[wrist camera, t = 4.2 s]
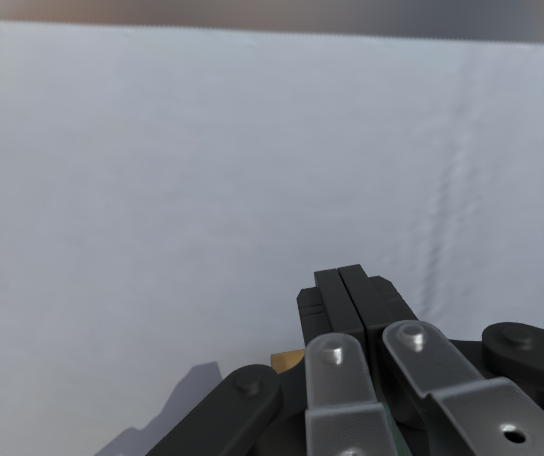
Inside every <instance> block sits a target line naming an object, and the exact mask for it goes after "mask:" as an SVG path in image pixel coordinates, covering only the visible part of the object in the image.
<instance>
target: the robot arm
mask: <svg viewBox="0 0 544 456" xmlns="http://www.w3.org/2000/svg"><path fill="white" fill-rule="evenodd" d="M314 277H315V284H316V287H312V288H306V289H301V291H300V293H299V295H298V297H297V304H298V309H299V315H300V321H301V326H302V332H303V337H304V343H305V354H304V356H303V358H302V359H301V361H300V362H299V363H298V364H296V365H295V366H294V367H292V368H290V369H288V370H286V371H284V372H282V373H280V374H278V373H277V372H276V371H275V370H274V369H273V368H271V367H269V366H266V365H260V364H254V365H248V366H244V367H241V368H239V369H237V370H235V371H234V372H232V373H231V374H229V375H228V376H227V377H226V378H225V379H224V380H223V381H222V382H221V383H220V384H219V385H218V386H217V387H216V388H215V389H214V390H213V391H212V392H211V393H210V394H208V395H207V396H206V397H205V398H204V399H203V400H202V401H201V402H200V403H199V404H198V405H197V406H196V407H195V408H194V409H193V410H192V411H191V412H190V413H189V414H188V415H187V416H186V417H185V418H184V419H183V420H182V421H181V422H179V423H178V424H177V425H176V426H175V427H174V428H173V429H172V430H171V431H170V432H169V433H168V434H167V435H166V436H165V437H164V438H163V439H162V440H161V441H160V442H159V443H158V444H157V445H156V446H155V447H154V448H153V449H152V450H150V451H149V452H148V453H147V454H146V455H145V456H399V455H398V452H397V449H396V446H395V442H394V439H393V436H392V432H391V429H390V426H389V423H388V419H387V416H386V413H385V410H384V407H383V404H382V402H387V404H388V406H389V409H390V417H391V425H392V428H393V431H394V433H395V435H396V437H397V439H398V441H399V443H400V445H401V447H402V449H403V450H404V452H405V454H406V456H544V329H541V328H537V327H534V326H530V325H526V324H522V323H514V322H503V323H496V324H493V325H490V326H488V327H487V328H486V329H484V331H483V333H482V341H459V340H451V339H447V338H446V337H445V335H444V334H443V333H442V332H441V331H440V330H439V329H438V328H436V327H435V326H433V325H431V324H429V323H426V322H423V321H419V320H418V319H417V317H416V316H415V315H414V313H413V312H412V310H411V309H410V308H409V306H408V305H407V304H406V302H405V301H404V299H402V297H401V295H400V294H399V293H398V292H397V290H396V289H395V287H394V286H393V284H392V283H391V282H390V281H388V280H386V279H384V278H382V277H380V276H374V277H367V275H366V273H365V272H364V270H363V269H362V267H361V265H360V264H357V265H351V266H345V267H340V268H337V269H336V268H335V269H329V270H323V271H318V272H314Z"/></svg>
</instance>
